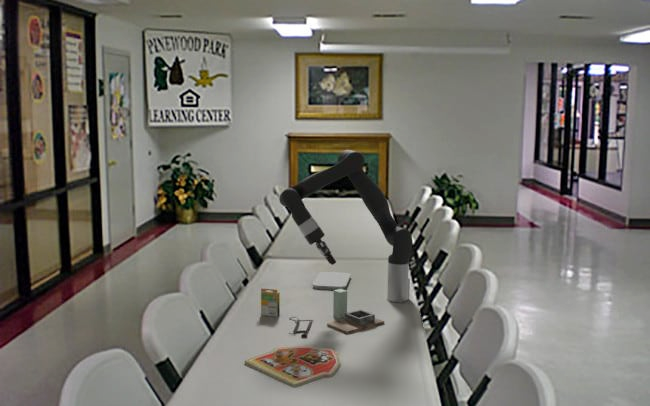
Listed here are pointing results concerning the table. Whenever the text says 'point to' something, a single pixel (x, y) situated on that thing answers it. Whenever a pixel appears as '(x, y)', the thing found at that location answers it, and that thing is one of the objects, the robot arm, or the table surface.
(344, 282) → the tablet
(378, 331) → the table surface
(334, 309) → the peg block
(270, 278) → the table surface
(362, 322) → the tool stand
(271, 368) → the knob puzzle
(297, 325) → the hacksaw
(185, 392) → the table surface
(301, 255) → the table surface
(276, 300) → the crayon box
